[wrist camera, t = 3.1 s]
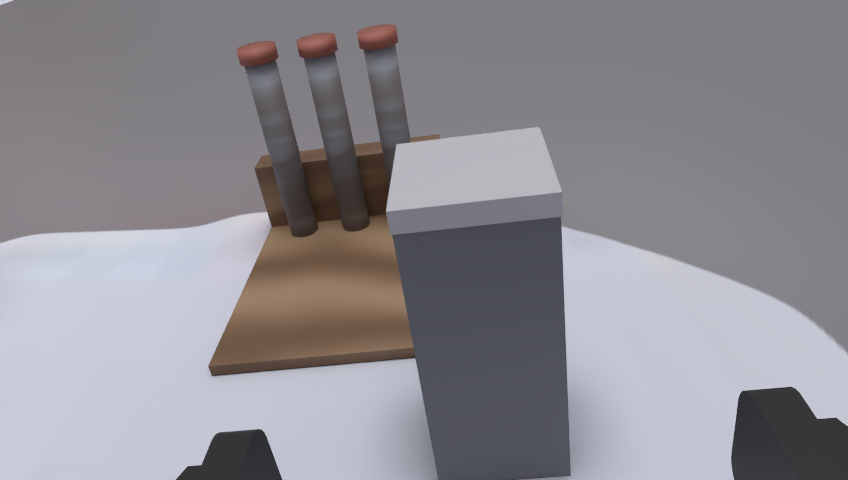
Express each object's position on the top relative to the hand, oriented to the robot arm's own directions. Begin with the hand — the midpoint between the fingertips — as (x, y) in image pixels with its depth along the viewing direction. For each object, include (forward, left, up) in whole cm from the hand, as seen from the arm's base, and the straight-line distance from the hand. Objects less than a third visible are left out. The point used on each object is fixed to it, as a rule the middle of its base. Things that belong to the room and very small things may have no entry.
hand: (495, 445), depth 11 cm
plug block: (+5, +10, -12) cm, 17 cm away
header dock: (+3, +25, -12) cm, 28 cm away
